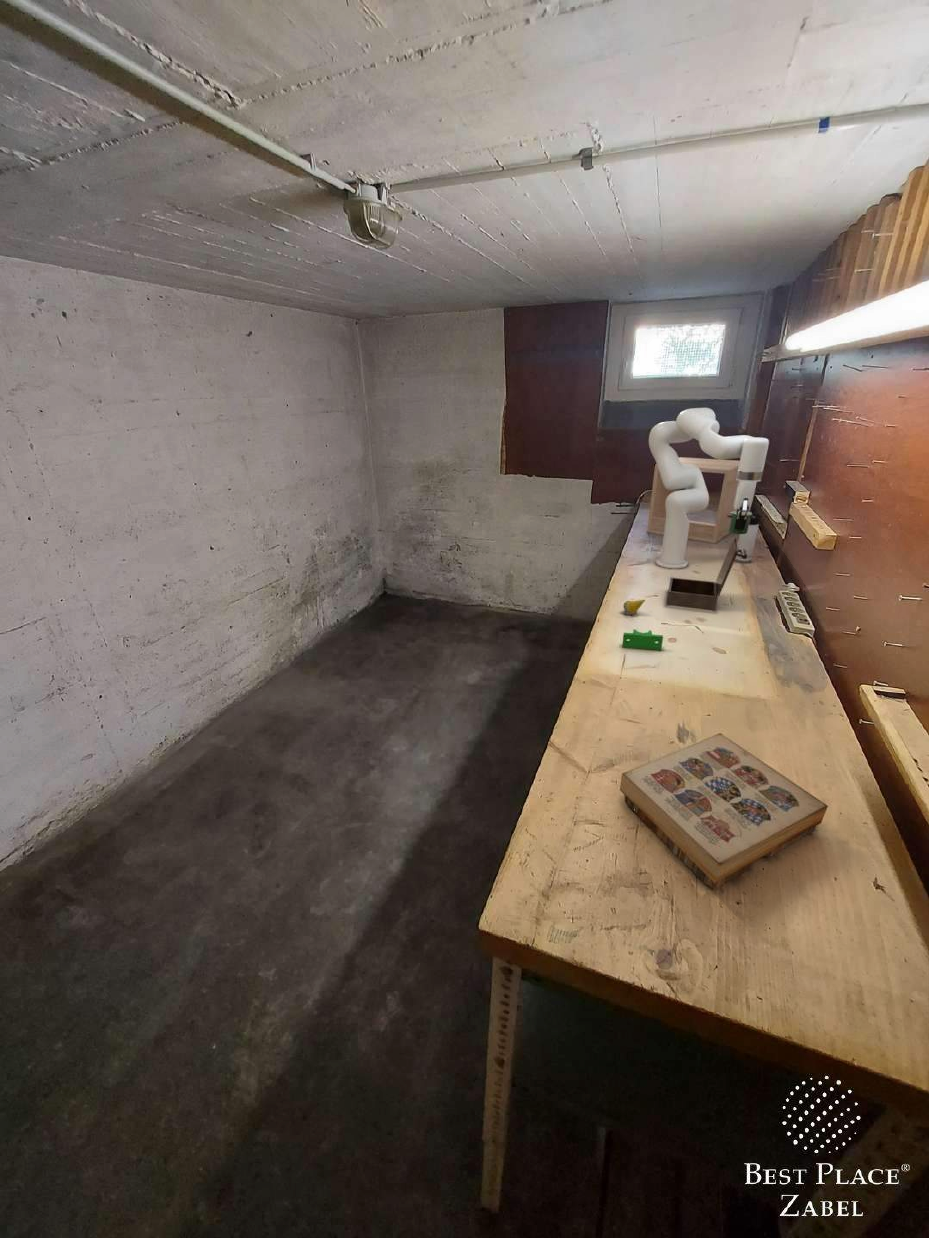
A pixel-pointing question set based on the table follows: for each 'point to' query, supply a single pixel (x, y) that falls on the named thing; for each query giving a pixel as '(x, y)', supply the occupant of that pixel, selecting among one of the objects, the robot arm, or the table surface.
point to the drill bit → (632, 607)
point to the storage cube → (697, 529)
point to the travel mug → (748, 540)
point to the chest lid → (728, 565)
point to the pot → (733, 520)
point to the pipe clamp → (642, 640)
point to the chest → (692, 594)
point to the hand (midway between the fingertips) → (738, 526)
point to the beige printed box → (720, 807)
